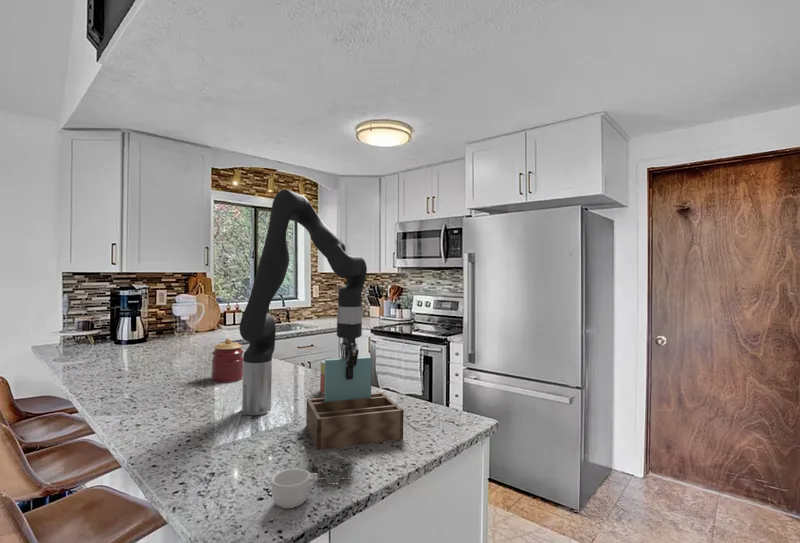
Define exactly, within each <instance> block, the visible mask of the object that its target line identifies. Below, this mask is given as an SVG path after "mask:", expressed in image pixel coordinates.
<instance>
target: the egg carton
mask: <svg viewBox="0 0 800 543" xmlns="http://www.w3.org/2000/svg"><path fill="white" fill-rule="evenodd" d="M315 457H316V456H315V455H313V456H311V455H310V454H308V455H307V458H309V459H310V460H311V461H310V464H309V467H310V468H312V469H314V468H317V469H316V470H315V469H314V470H310V471H309V473H317V474H316V478H318V479H319V478H320V479H319V480H322V479H321V478H326V479H325V483H326V484H327V483H329V484H328V485H331V484H330V483H335V484H336V483H339V484H340V480H339V479H341V480H343V479H342V478H347V479H348V478H351V479H352V475H351V474H353V465H354V464H355V462H353V461H350V460H348V459H347V457H343V456H342V455H340V454H339V453H338V452H336V451H331V452H329V453H325V454H324V455H322V454H320V455H319V458H315ZM324 459H332V461H333V463H330V464H329V468H324V469H320V467H321V464H320V463H322V462H324ZM340 463H341V466H340ZM340 468H341V469H340ZM329 472H330V473H329ZM335 484H334V485H335Z"/></svg>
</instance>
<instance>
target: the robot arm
mask: <svg viewBox="0 0 800 543" xmlns="http://www.w3.org/2000/svg"><path fill="white" fill-rule="evenodd" d="M271 205H272V206H271V210H270V214H269V215H270V217H269V221H268V228H267V233H266V237H265V241H264V245H263V249H262V252H261V255H260V259H259V261H258V262H259V263H258V267H257V269H256V274H255V277H254V281H253V285H252V288H251V292H250V295H249V298H248V301H247V304H246V307H245V309H244V311H243V314H242V316H241V319H240V322H239V327H238V328H239V334H240V337H241V338H242V339H243V340H244V341H246V342H248V343H249V345H248V347H247V348H246V349H245V351H244V353H243V378H242V395H241V396H242V400H241V403H242V404H241V413H242V414H241V415H242V416H260V415H265V414H268V412H271V411H272V381H273V380H272V379H273V377H272V373H273V371H272V370H273V354H274V351H275V348H276V347H275V346H276V345H275V344H276V334H277V333H276V331H277V330H276V328H277V327H276V322H275V321H276V320H275V319H274V317H273V315H272V314H270V313H269V312H268V311H269V307H270V306H271V302H272V301H273V298H275V296H276V294H277V293H278V291H279V289H280V288H281V286H282V284H283V282H284V281H285V278H286V275H287V272H288V269H289V265H290V253H289V248H288V242H287V231H288V228H289V226H288V225H289V224H290V221H292V222H296V223H297V224H299V225H301V226H302V227H303V228H304V229H305V230H306V231H307V232H308V233H309V236H310V239H311V241H312V243H313V245H314V246H315V248H316V249H317V250H318V251H319V252H320V253H321V254H322V255H323V256H324V257H325V258H326V260H327V262H328V264H329V266H330V268H331V269H332V271H333V273H334V274H335V275H336V276H338V277H340V278H341V279H345V280H346V283H345V285H344V286H342V287H340V288H339V290H338V295H337V297H338V298H337V300H338V301H337V302H338V303H337V305H338V306H337V313H336V336H337V337H338V338H340V339H342V342H340V343H339V346H340V347H339V348H340V355H341V356H340V358H344V359H346V365H345V366H346V379H347V380H351V379H353V367H354V366H356V363H357V357H359V348H358V344H357V342H356V339H357V338H361V337H362V335H363V333H362V332H363V331H362V330H363V328H362V326H363V311H362V292H363V290H364V287H365V282H366V278H367V273H368V268H367V263H366V260H365V259H364V258H363V257H362V256H360V255H351V254H350V255H349V254H347V253H346V245H345V244H344V242H343V241H342V240H341V239H340V238H339V237H338V236H337V235H336V234H335V233H334V232H333V231H332V230H331V229H330V228H329V227H328V225H326V224H325V222H324V221H323V220H322V219H321V217H320V216H319V214H318V213H317V212H316V210H315V209H314V207H313V205H312V204H311V202H310V201H309V200H308V198H306V197H305V196H304V195H303V194H300V193H297V192H295V191H292V190H289V189H281V190H280V191H278V192H277V193H276V195H275V197H274V199H273V200H272V204H271ZM350 361H352V362H350Z"/></svg>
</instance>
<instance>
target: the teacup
mask: <svg viewBox="0 0 800 543" xmlns="http://www.w3.org/2000/svg"><path fill="white" fill-rule="evenodd" d="M312 476H313V478H312ZM311 478H312V481H311ZM316 480H317V474H314V473H310V471H309V470H306V469H305V468H294V467H293V468H288V469H283V470H280V471H279V472H276V473H275V474H273V476H272V477H271V495H272V499H273V501H274V502H275V504H276V505H277V506H278V507H280V508H282V509H285V508H292V509H295V508H294V507H296V508H298V507H299V506H301V505H302V504H303V503H304V502H305V501H306V500H307V498H308V496H309V492H310V488H311V487H312V486H313V485H314V484H315V482H316ZM297 506H298V507H297Z"/></svg>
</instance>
